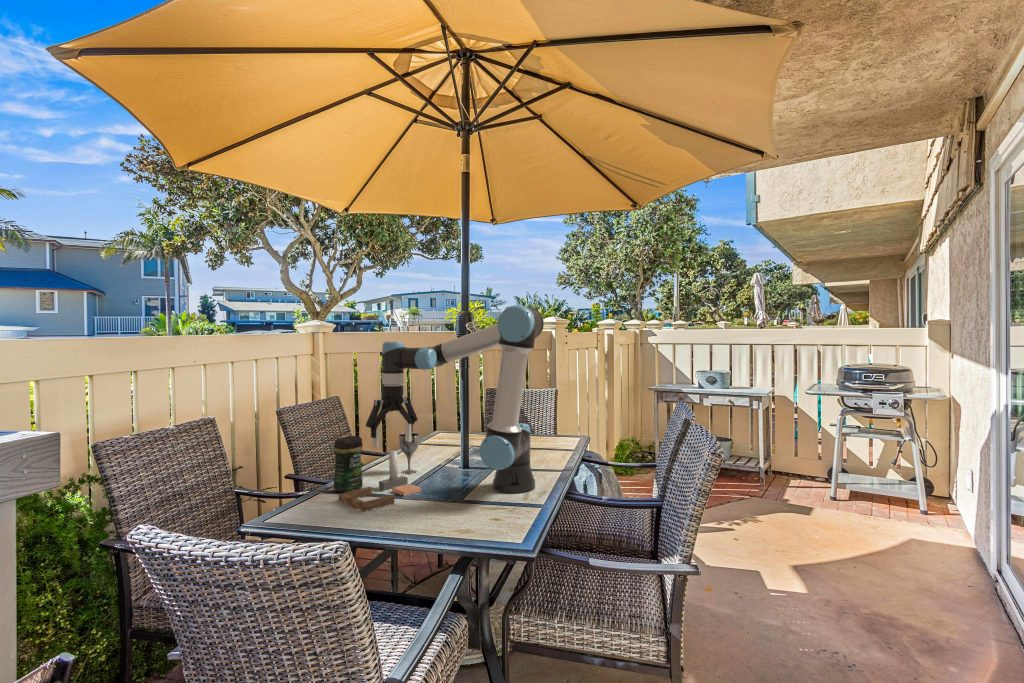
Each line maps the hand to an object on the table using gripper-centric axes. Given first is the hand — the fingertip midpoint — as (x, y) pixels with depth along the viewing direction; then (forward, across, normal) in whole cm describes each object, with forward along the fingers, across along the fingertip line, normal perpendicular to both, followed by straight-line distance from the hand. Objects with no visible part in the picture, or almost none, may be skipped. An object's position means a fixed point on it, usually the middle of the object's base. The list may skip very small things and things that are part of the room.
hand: (392, 444), depth 195 cm
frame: (+16, +15, +8) cm, 23 cm away
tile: (+16, 0, +8) cm, 18 cm away
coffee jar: (+16, +12, -10) cm, 22 cm away
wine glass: (+16, -16, -12) cm, 26 cm away
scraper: (+16, 0, 0) cm, 16 cm away
